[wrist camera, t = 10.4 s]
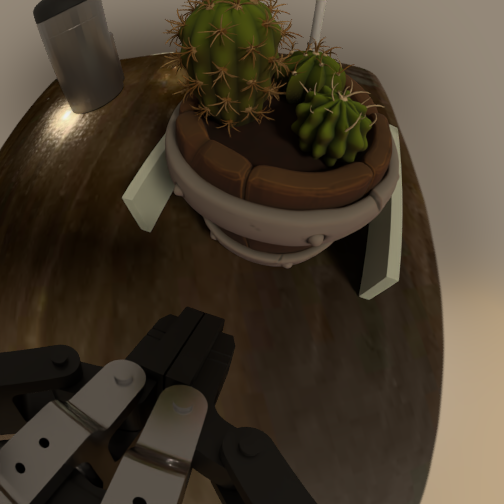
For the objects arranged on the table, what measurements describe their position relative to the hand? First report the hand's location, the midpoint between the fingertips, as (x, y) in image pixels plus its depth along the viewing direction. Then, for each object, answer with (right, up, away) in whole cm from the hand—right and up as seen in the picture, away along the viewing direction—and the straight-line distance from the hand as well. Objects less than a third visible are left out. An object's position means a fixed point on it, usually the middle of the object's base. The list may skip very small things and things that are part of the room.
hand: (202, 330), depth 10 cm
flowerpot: (+4, +7, +14) cm, 16 cm away
